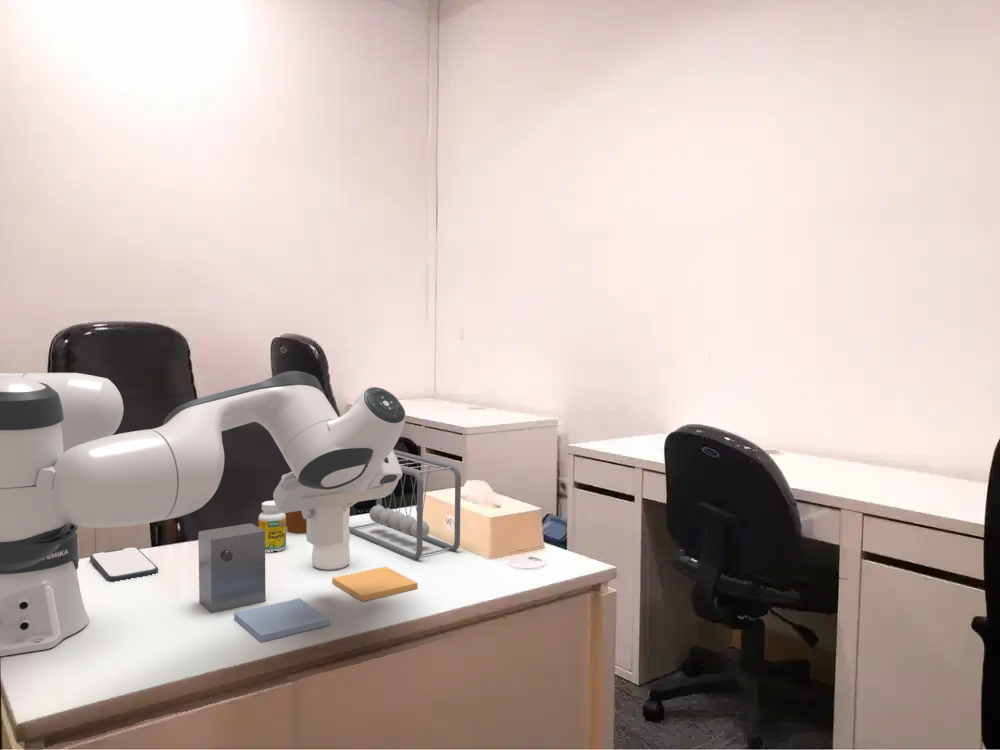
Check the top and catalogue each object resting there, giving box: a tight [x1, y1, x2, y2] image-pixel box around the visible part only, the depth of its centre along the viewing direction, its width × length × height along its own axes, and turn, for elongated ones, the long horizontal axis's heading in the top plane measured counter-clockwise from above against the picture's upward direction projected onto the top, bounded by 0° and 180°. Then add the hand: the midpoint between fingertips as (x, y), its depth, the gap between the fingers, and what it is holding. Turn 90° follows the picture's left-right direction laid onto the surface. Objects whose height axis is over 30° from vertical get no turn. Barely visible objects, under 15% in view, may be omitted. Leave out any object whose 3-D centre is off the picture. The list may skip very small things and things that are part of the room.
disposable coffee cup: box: [279, 473, 307, 534], centre depth 180 cm, size 10×10×12 cm
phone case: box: [89, 546, 159, 583], centre depth 154 cm, size 9×2×16 cm
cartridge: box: [306, 504, 343, 547], centre depth 138 cm, size 5×5×9 cm
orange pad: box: [331, 566, 419, 602], centre depth 145 cm, size 11×11×1 cm
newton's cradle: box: [349, 449, 462, 561], centre depth 173 cm, size 30×10×18 cm, turn 41°
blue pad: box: [233, 597, 330, 643], centre depth 128 cm, size 11×11×1 cm
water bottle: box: [311, 507, 351, 571], centre depth 156 cm, size 7×7×25 cm
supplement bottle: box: [258, 500, 287, 552], centre depth 166 cm, size 5×5×10 cm
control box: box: [197, 523, 267, 614], centre depth 136 cm, size 9×7×12 cm
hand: (322, 512), depth 139 cm, fingers closed on cartridge, 4 cm apart
